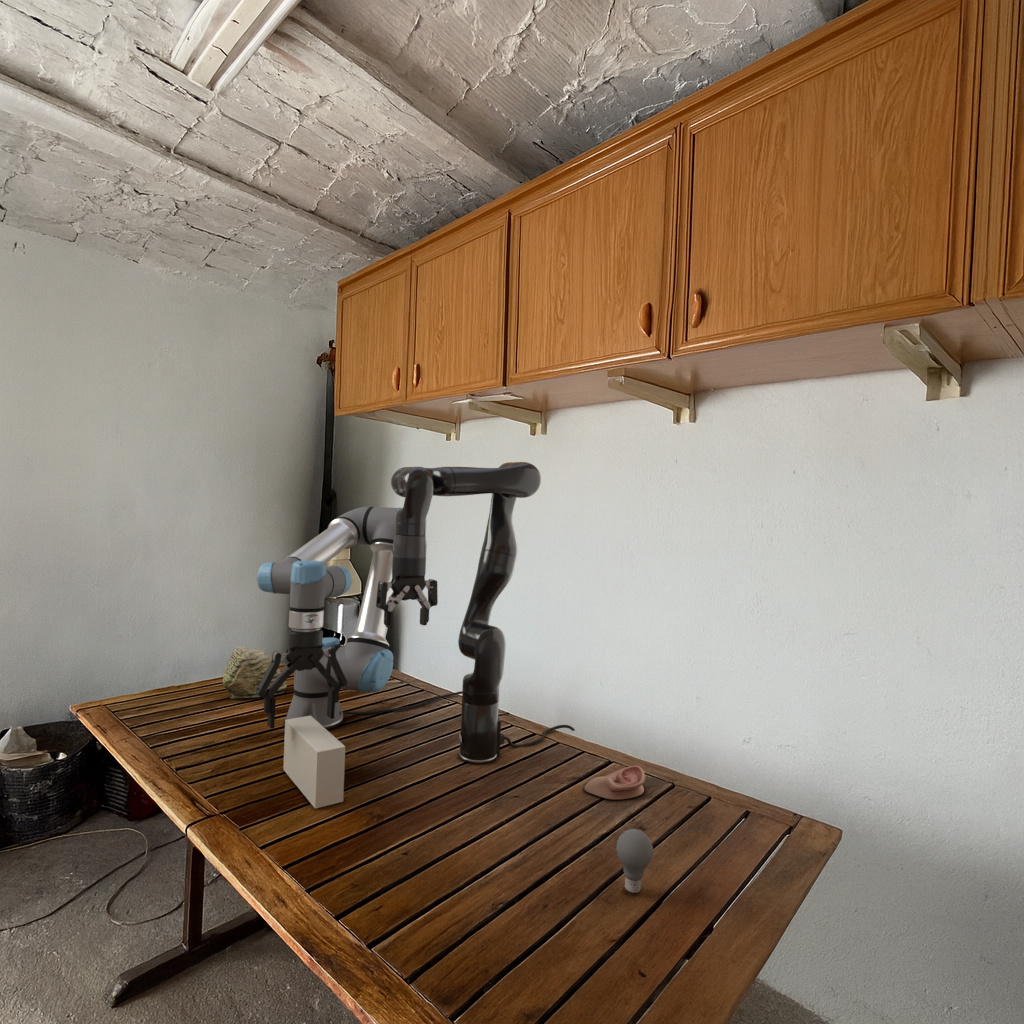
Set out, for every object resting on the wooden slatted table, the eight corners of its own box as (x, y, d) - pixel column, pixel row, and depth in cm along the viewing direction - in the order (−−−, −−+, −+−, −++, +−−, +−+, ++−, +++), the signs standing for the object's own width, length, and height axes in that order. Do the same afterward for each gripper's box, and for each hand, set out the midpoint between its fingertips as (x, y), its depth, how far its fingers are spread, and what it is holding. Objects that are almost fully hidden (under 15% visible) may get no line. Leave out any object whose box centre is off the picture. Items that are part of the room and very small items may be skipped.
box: (283, 769, 146) (285, 719, 146) (308, 764, 149) (310, 715, 149) (315, 808, 129) (317, 752, 128) (343, 801, 132) (345, 746, 132)
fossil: (218, 695, 195) (220, 647, 195) (278, 685, 208) (279, 640, 207) (228, 703, 189) (230, 653, 188) (289, 692, 201) (290, 645, 201)
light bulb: (610, 879, 108) (613, 822, 108) (644, 879, 109) (647, 822, 109) (619, 902, 102) (622, 840, 102) (655, 901, 103) (658, 840, 103)
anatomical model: (583, 778, 139) (588, 757, 150) (582, 795, 139) (587, 774, 150) (645, 786, 136) (645, 764, 147) (644, 804, 136) (644, 781, 148)
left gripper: (253, 636, 134) (248, 736, 134) (364, 627, 149) (359, 717, 149) (244, 629, 140) (239, 725, 140) (351, 622, 155) (347, 708, 155)
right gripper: (387, 557, 136) (384, 632, 136) (445, 556, 144) (442, 626, 145) (373, 553, 142) (370, 625, 142) (429, 553, 150) (426, 620, 151)
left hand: (301, 721), depth 145 cm, fingers open, 13 cm apart
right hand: (406, 626), depth 144 cm, fingers open, 8 cm apart
